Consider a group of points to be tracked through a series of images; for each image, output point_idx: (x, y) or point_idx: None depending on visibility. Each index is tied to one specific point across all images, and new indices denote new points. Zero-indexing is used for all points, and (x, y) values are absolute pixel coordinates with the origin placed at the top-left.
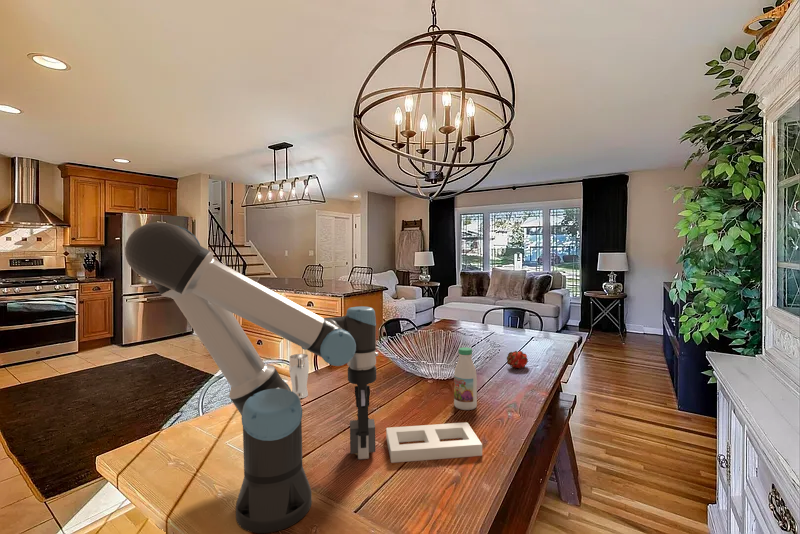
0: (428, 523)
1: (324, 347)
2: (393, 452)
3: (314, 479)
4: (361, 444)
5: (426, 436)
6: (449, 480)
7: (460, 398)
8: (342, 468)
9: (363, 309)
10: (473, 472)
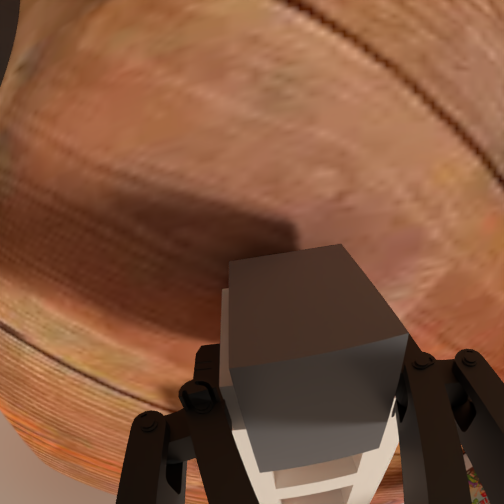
0: (15, 423)
1: None
2: None
3: (51, 112)
4: (196, 365)
5: (320, 478)
6: None
7: (468, 476)
8: (144, 222)
9: None
10: (191, 498)
